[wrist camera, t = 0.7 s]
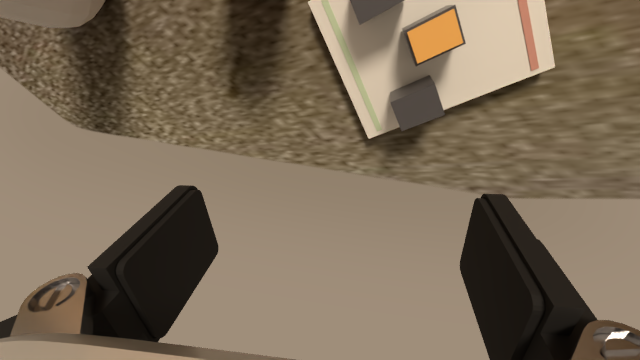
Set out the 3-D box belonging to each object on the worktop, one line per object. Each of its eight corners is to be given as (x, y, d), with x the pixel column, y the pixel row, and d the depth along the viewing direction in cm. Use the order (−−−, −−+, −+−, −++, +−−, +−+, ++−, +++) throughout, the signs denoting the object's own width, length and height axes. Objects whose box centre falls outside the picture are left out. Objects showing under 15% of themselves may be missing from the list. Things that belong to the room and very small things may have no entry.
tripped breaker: (446, 5, 26) (456, 4, 22) (455, 39, 27) (466, 43, 23) (401, 28, 27) (403, 31, 23) (412, 59, 28) (416, 67, 25)
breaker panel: (512, -123, 23) (551, -164, 17) (544, 63, 28) (581, 76, 23) (312, 2, 30) (295, 0, 24) (369, 132, 35) (366, 154, 30)
